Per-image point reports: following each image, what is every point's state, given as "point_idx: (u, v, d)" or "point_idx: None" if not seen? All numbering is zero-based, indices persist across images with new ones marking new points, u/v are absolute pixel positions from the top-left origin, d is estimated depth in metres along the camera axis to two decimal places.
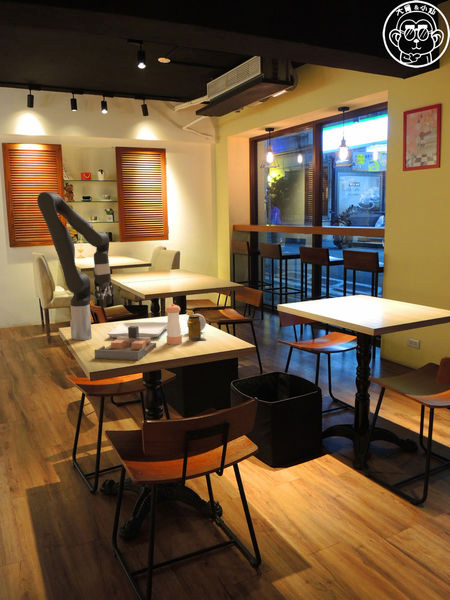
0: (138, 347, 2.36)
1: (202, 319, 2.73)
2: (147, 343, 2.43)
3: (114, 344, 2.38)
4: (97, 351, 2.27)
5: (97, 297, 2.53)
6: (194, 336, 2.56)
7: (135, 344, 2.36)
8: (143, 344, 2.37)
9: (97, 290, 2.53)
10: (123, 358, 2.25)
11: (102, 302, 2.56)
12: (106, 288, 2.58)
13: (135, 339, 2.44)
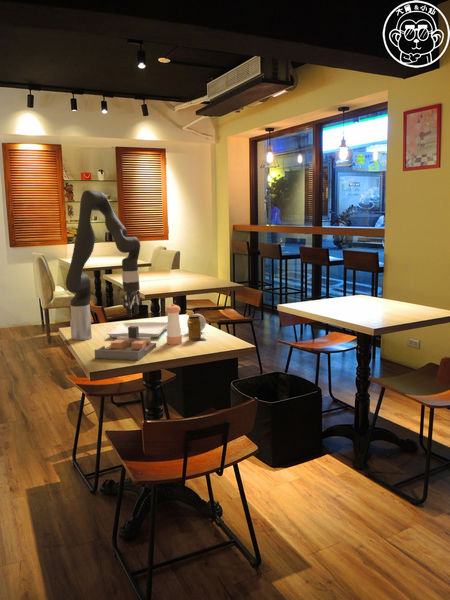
0: (138, 347, 2.36)
1: (202, 319, 2.73)
2: (147, 343, 2.43)
3: (114, 344, 2.38)
4: (97, 351, 2.27)
5: (125, 306, 2.36)
6: (194, 336, 2.56)
7: (135, 344, 2.36)
8: (143, 344, 2.37)
9: (125, 299, 2.35)
10: (123, 358, 2.25)
11: (130, 312, 2.38)
12: (134, 297, 2.40)
13: (135, 339, 2.44)
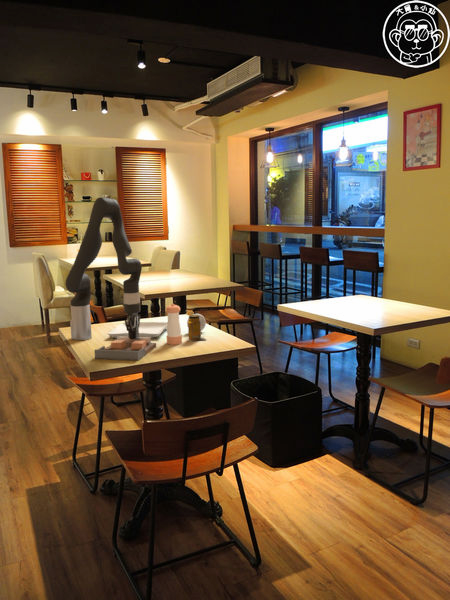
0: (138, 347, 2.36)
1: (202, 319, 2.73)
2: (147, 343, 2.43)
3: (114, 344, 2.38)
4: (97, 351, 2.27)
5: (128, 330, 2.40)
6: (194, 336, 2.56)
7: (135, 344, 2.36)
8: (143, 344, 2.37)
9: (127, 324, 2.38)
10: (123, 358, 2.25)
11: (133, 334, 2.42)
12: (135, 318, 2.42)
13: (135, 339, 2.44)
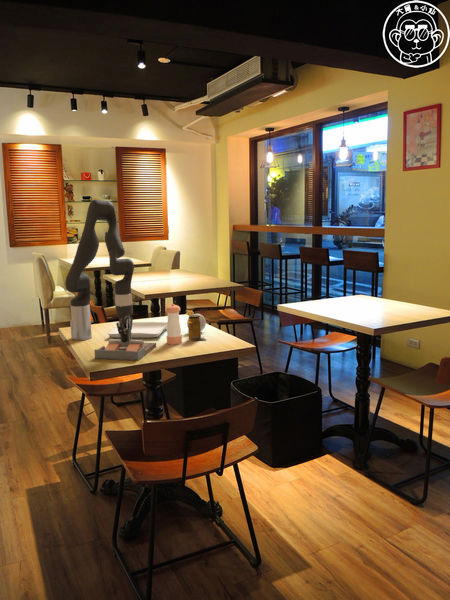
0: None
1: (202, 319, 2.73)
2: None
3: None
4: (97, 351, 2.27)
5: (120, 333, 2.31)
6: (194, 336, 2.56)
7: None
8: (138, 350, 2.31)
9: (119, 327, 2.29)
10: (123, 358, 2.25)
11: (125, 337, 2.33)
12: (127, 321, 2.33)
13: (127, 342, 2.35)
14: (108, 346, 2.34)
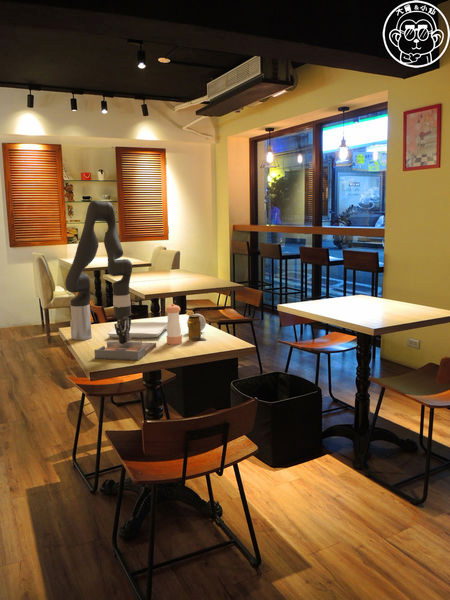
0: None
1: (202, 319, 2.73)
2: (138, 347, 2.32)
3: None
4: (97, 351, 2.27)
5: (118, 334, 2.29)
6: (194, 336, 2.56)
7: None
8: None
9: (117, 328, 2.27)
10: (123, 358, 2.25)
11: (123, 339, 2.31)
12: (125, 322, 2.31)
13: (125, 343, 2.33)
14: (107, 348, 2.33)
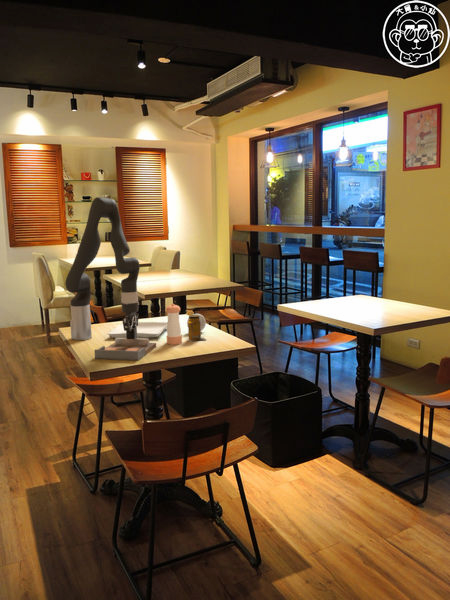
0: None
1: (202, 319, 2.73)
2: (145, 344, 2.41)
3: None
4: (97, 351, 2.27)
5: (125, 329, 2.37)
6: (194, 336, 2.56)
7: None
8: None
9: (124, 323, 2.35)
10: (123, 358, 2.25)
11: (130, 334, 2.39)
12: (133, 318, 2.39)
13: (133, 340, 2.42)
14: (107, 348, 2.33)
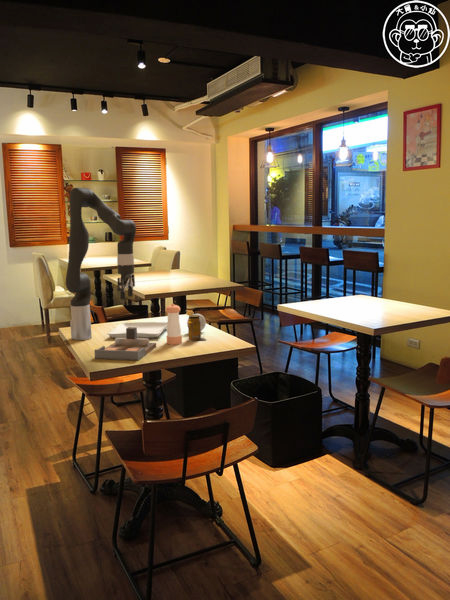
0: None
1: (202, 319, 2.73)
2: (145, 344, 2.41)
3: None
4: (97, 351, 2.27)
5: (118, 289, 2.37)
6: (194, 336, 2.56)
7: None
8: None
9: (119, 282, 2.36)
10: (123, 358, 2.25)
11: (123, 295, 2.39)
12: (128, 280, 2.41)
13: (133, 340, 2.42)
14: (107, 348, 2.33)
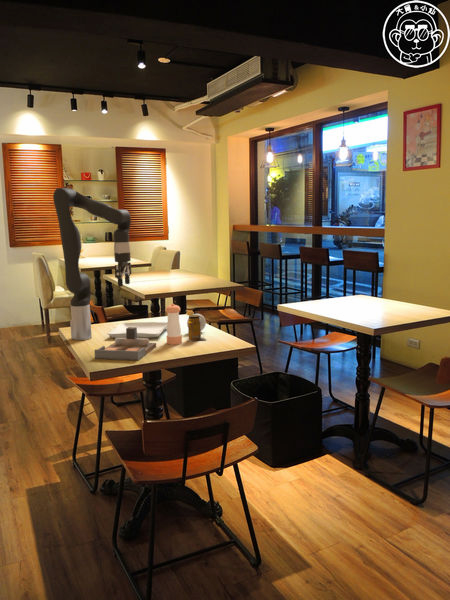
0: None
1: (202, 319, 2.73)
2: (145, 344, 2.41)
3: None
4: (97, 351, 2.27)
5: (116, 276, 2.46)
6: (194, 336, 2.56)
7: None
8: None
9: (116, 269, 2.45)
10: (123, 358, 2.25)
11: (121, 281, 2.48)
12: (125, 267, 2.50)
13: (133, 340, 2.42)
14: (107, 348, 2.33)
